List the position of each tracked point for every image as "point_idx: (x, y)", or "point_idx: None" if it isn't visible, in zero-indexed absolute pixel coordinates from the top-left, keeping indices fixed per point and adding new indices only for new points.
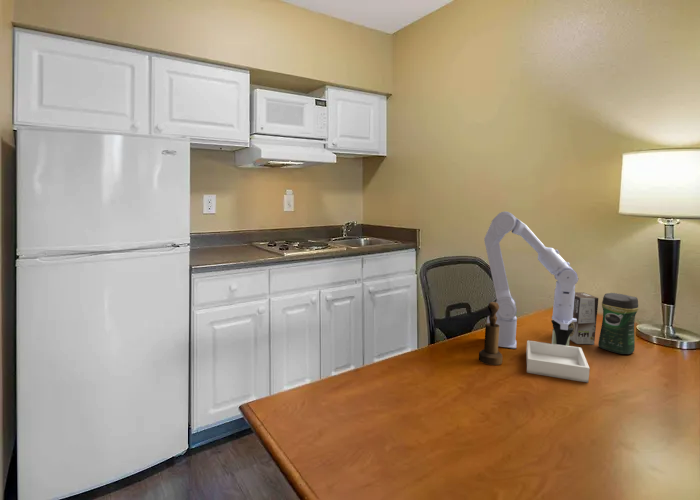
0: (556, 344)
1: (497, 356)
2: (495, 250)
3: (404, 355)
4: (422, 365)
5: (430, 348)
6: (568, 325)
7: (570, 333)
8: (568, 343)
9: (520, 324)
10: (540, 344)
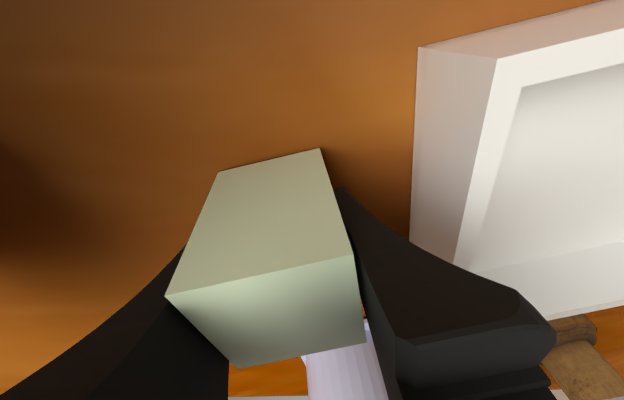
0: (461, 250)
1: (593, 330)
2: None
3: None
4: None
5: None
6: (121, 385)
7: (471, 274)
8: (332, 191)
9: (13, 382)
10: None
